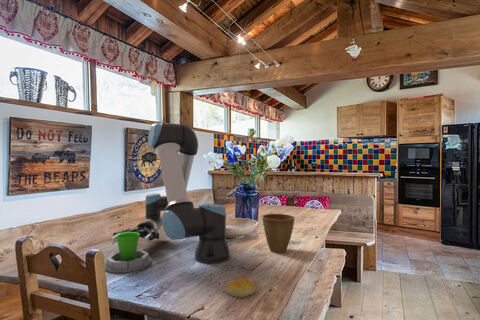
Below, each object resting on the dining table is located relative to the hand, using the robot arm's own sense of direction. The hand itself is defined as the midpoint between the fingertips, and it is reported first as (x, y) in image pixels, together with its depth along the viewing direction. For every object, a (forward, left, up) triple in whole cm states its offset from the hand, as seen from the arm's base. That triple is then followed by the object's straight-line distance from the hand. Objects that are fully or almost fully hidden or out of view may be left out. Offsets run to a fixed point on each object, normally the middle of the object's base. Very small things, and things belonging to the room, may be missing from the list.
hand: (128, 241), depth 118 cm
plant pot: (-32, -57, -9) cm, 66 cm away
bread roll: (-50, -16, -9) cm, 54 cm away
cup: (-1, +1, -8) cm, 8 cm away
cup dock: (-1, +1, -9) cm, 9 cm away
